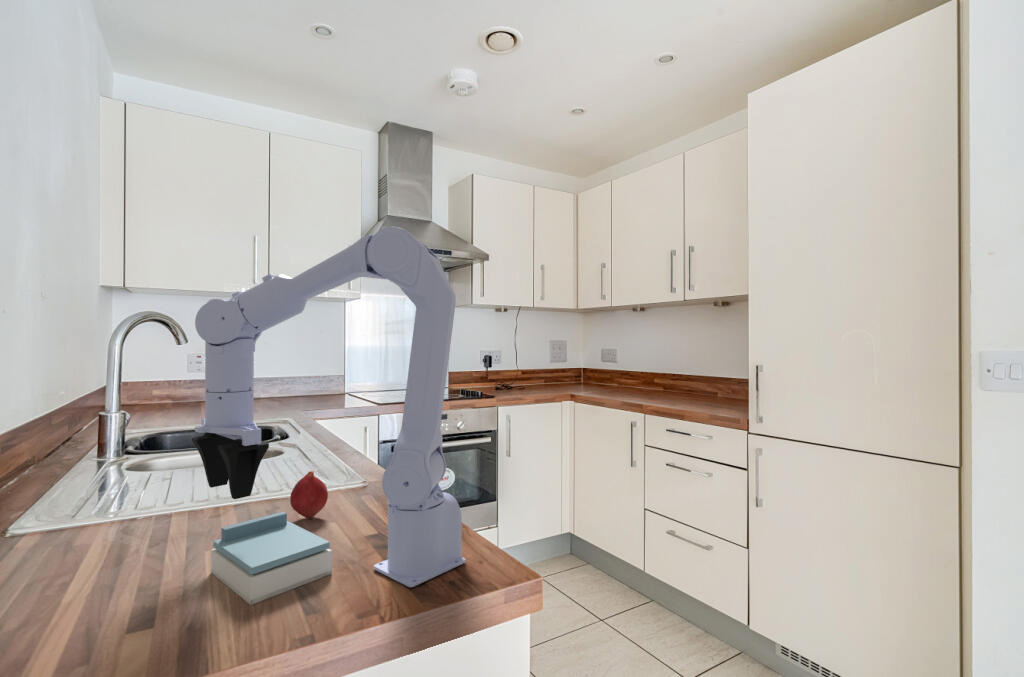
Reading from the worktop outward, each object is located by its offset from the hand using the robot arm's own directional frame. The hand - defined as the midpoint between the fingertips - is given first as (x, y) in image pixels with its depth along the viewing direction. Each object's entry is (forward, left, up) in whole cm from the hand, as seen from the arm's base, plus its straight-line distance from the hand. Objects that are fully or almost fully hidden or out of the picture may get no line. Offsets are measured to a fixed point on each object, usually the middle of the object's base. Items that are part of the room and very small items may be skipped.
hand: (229, 491), depth 68 cm
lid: (-2, +8, -6) cm, 10 cm away
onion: (-15, -7, -10) cm, 20 cm away
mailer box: (-2, +8, -10) cm, 12 cm away
